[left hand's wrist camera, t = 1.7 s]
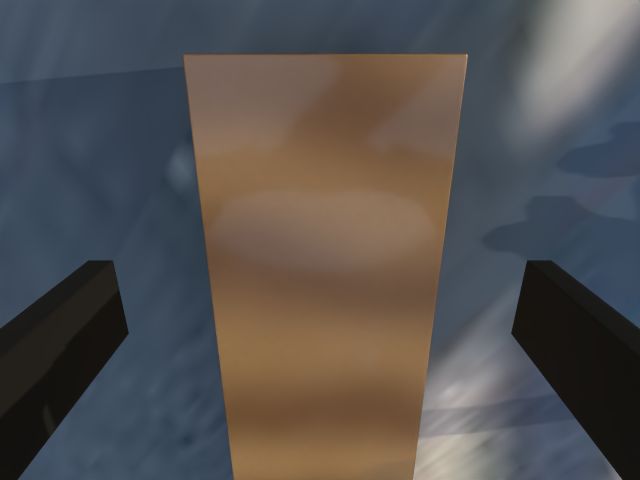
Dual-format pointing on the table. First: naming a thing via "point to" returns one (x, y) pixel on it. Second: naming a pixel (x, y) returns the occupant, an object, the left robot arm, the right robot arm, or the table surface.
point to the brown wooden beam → (324, 250)
